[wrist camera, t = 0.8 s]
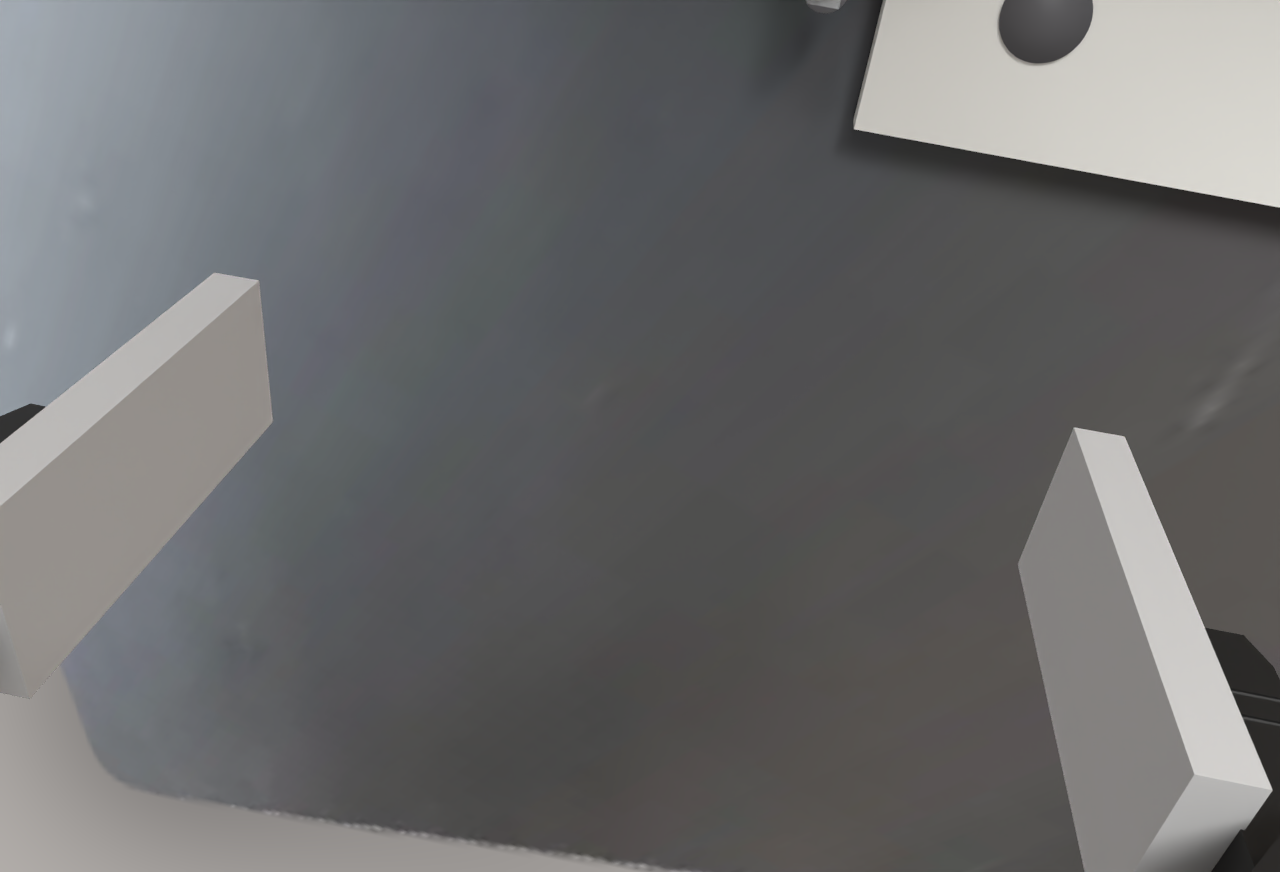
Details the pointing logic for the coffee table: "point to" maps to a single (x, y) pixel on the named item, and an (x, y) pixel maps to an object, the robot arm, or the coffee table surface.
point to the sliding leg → (825, 5)
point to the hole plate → (1088, 86)
